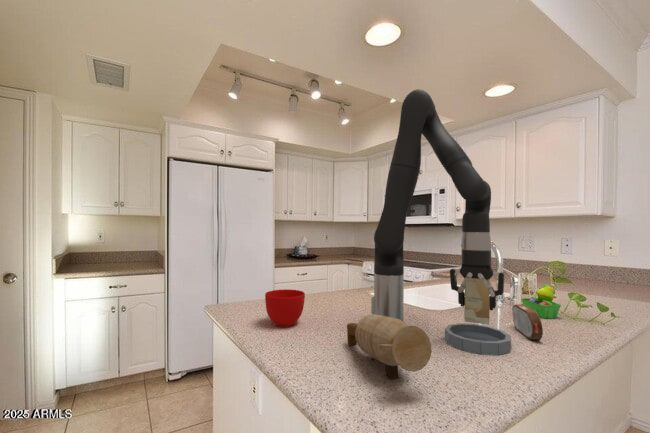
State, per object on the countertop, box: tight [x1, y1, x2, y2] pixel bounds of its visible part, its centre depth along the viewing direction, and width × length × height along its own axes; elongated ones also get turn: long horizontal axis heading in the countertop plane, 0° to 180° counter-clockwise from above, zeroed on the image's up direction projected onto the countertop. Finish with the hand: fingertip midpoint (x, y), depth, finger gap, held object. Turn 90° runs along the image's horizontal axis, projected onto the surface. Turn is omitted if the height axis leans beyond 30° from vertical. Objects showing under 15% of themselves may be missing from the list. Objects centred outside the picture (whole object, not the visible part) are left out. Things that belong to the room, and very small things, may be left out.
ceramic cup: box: [264, 288, 306, 328], centre depth 104 cm, size 13×17×10 cm
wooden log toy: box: [346, 314, 433, 380], centre depth 71 cm, size 10×12×30 cm
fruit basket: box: [521, 284, 562, 319], centre depth 117 cm, size 11×9×11 cm
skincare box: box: [463, 278, 491, 326], centre depth 87 cm, size 6×4×12 cm
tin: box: [511, 303, 544, 341], centre depth 94 cm, size 15×3×8 cm, turn 168°
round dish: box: [444, 322, 512, 356], centre depth 86 cm, size 16×16×3 cm
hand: (476, 307), depth 87 cm, fingers closed on skincare box, 6 cm apart
